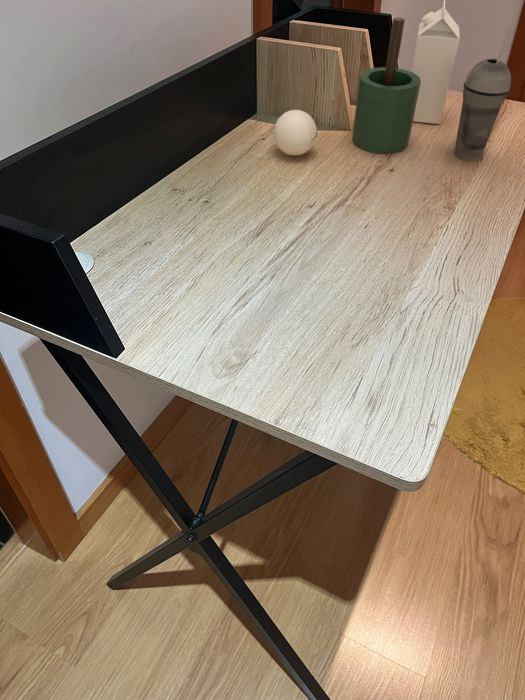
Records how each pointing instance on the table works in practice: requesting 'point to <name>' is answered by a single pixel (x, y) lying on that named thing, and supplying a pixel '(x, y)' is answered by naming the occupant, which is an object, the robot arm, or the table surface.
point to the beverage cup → (481, 105)
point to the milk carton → (434, 63)
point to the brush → (393, 51)
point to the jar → (385, 111)
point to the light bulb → (295, 132)
